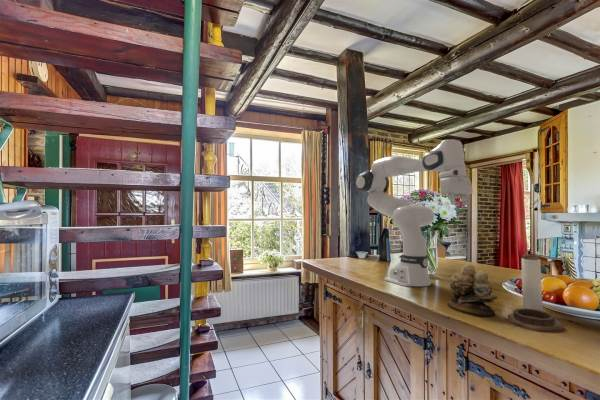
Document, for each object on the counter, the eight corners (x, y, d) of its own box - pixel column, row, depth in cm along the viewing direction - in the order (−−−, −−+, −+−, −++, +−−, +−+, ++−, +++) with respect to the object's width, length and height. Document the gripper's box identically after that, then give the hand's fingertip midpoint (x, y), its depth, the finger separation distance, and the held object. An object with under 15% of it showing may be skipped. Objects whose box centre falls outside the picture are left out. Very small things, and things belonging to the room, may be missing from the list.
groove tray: (500, 321, 99) (499, 312, 99) (517, 312, 107) (517, 304, 107) (553, 335, 88) (553, 325, 88) (568, 324, 96) (568, 315, 96)
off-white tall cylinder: (520, 311, 108) (518, 255, 109) (526, 308, 112) (524, 253, 112) (539, 315, 104) (537, 257, 104) (544, 312, 107) (542, 255, 108)
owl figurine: (506, 315, 106) (505, 266, 106) (485, 321, 101) (483, 269, 101) (460, 300, 122) (458, 258, 122) (439, 305, 117) (438, 261, 117)
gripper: (460, 176, 143) (464, 205, 142) (436, 174, 132) (440, 205, 130) (474, 173, 138) (478, 203, 136) (450, 171, 127) (454, 203, 125)
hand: (459, 204), depth 133 cm, fingers open, 8 cm apart
